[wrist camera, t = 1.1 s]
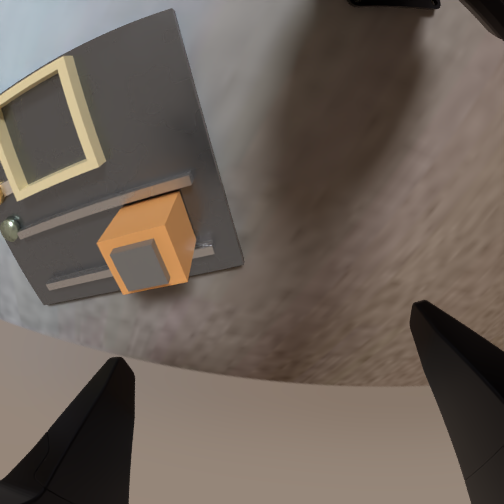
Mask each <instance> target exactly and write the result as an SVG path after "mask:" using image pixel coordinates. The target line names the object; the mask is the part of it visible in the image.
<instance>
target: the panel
mask: <svg viewBox="0 0 504 504" xmlns="http://www.w3.org/2000/svg"><path fill="white" fill-rule="evenodd" d="M62 56H73V58H74V62H75V66H76V69H77V73H78V76H79V80H80V83H81V87H82V90H83V93H84V97H85V100H86V103H87V106H88V109H89V112H90V116H91V119H92V122H93V125H94V128H95V131H96V134H97V136H98V139H99V142H100V145H101V148H102V151H103V153H104V156H105V159H106V162H105V163H103V164H102V165H101V166H100V167H98V168H95V169H93V170H90V171H87V172H85V173H82V174H80V175H77V176H75V177H72V178H70V179H67V180H65V181H63V182H60V183H58V184H55V185H53V186H51V187H48V188H46V189H44V190H42V191H39V192H37V193H35V194H33V195H31V196H28V197H26V198H24V199H22V200H20V201H18V202H17V200H16V198H15V195H14V193H13V191H12V188H11V186H10V184H9V181H8V179H7V176H6V174H5V171H4V169H3V166H2V164H1V161H0V230H1V233H2V235H3V237H4V238H5V240H6V242H7V244H8V246H9V248H10V250H11V251H12V253H13V255H14V257H15V259H16V260H17V262H18V264H19V266H20V267H21V269H22V271H23V273H24V274H25V276H26V278H27V279H28V281H29V283H30V284H31V286H32V287H33V289H34V291H35V292H36V294H37V295H38V297H39V298H40V300H41V301H42V303H43V305H48V304H53V303H58V302H63V301H68V300H73V299H79V298H84V297H89V296H94V295H99V294H104V293H109V292H114V291H119V290H120V288H119V286H118V284H117V282H116V280H115V278H114V277H113V275H112V273H111V271H110V269H109V267H108V265H107V263H106V261H105V259H104V257H103V255H102V253H101V251H100V249H99V247H98V245H97V242H98V240H99V239H100V237H101V236H102V234H103V233H104V231H105V230H106V228H107V227H108V226H109V224H110V223H111V221H112V220H113V218H114V217H115V216H116V214H117V213H118V211H119V210H120V209H121V207H124V206H127V205H131V204H134V203H137V202H141V201H144V200H148V199H151V198H155V197H158V196H162V195H165V194H169V193H173V192H176V191H180V194H181V197H182V200H183V203H184V206H185V209H186V212H187V215H188V218H189V220H190V223H191V226H192V229H193V232H194V235H195V237H196V244H195V248H194V253H193V258H192V263H191V268H190V273H189V276H193V275H197V274H202V273H207V272H212V271H217V270H222V269H226V268H231V267H236V266H241V265H244V257H243V254H242V251H241V247H240V244H239V240H238V237H237V233H236V230H235V226H234V223H233V219H232V216H231V212H230V209H229V205H228V202H227V198H226V195H225V191H224V188H223V184H222V181H221V177H220V174H219V170H218V166H217V163H216V159H215V156H214V152H213V149H212V145H211V142H210V138H209V134H208V131H207V127H206V124H205V120H204V116H203V113H202V109H201V106H200V102H199V98H198V95H197V91H196V88H195V84H194V80H193V77H192V73H191V69H190V66H189V62H188V58H187V55H186V51H185V47H184V44H183V40H182V36H181V33H180V29H179V25H178V21H177V18H176V14H175V11H174V10H173V9H172V8H171V9H168V10H165V11H162V12H159V13H156V14H153V15H150V16H148V17H145V18H142V19H140V20H137V21H134V22H132V23H129V24H127V25H124V26H122V27H119V28H117V29H115V30H112V31H110V32H108V33H106V34H103V35H101V36H99V37H97V38H95V39H93V40H90V41H88V42H86V43H84V44H82V45H80V46H78V47H76V48H74V49H73V50H71V51H69V52H67V53H65V54H63V55H61V56H59V57H58V58H56V59H54V60H52V61H51V62H49V63H47V64H45V65H44V66H42V67H40V68H39V69H37V70H35V71H34V72H32V73H31V74H33V73H35V72H36V71H38V70H40V69H41V68H43V67H45V66H46V65H48V64H50V63H52V62H53V61H55V60H57V59H59V58H60V57H62ZM31 74H29V75H27V76H26V77H24V78H23V79H21V80H20V81H18V82H17V83H19V82H21V81H22V80H24V79H25V78H27V77H28V76H30V75H31ZM17 83H15V84H14V85H12V86H11V87H9V88H8V89H7V90H9V89H10V88H12V87H13V86H15V85H16V84H17ZM7 90H5V91H4V92H6V91H7ZM4 92H2V93H1V94H0V95H2V94H3V93H4ZM1 110H2V113H3V117H4V120H5V123H6V126H7V129H8V132H9V135H10V138H11V141H12V144H13V147H14V149H15V152H16V155H17V158H18V160H19V163H20V165H21V168H22V170H23V173H24V175H25V178H26V180H27V183H28V185H29V184H31V183H33V182H35V181H37V180H39V179H41V178H43V177H45V176H48V175H50V174H52V173H54V172H57V171H59V170H61V169H63V168H66V167H68V166H70V165H73V164H75V163H77V162H80V161H82V160H85V159H86V156H85V153H84V151H83V148H82V145H81V142H80V140H79V137H78V134H77V131H76V128H75V125H74V122H73V119H72V116H71V113H70V110H69V107H68V104H67V100H66V97H65V94H64V90H63V87H62V84H61V80H60V77H59V73H57V74H56V75H54V76H52V77H50V78H48V79H47V80H45V81H43V82H42V83H40V84H38V85H36V86H35V87H33V88H32V89H30V90H28V91H27V92H25V93H23V94H22V95H20V96H19V97H17V98H16V99H14V100H13V101H11V102H10V103H8V104H7V105H5V106H4V107H2V108H1Z"/></svg>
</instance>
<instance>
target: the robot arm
mask: <svg viewBox="0 0 504 504" xmlns="http://www.w3.org/2000/svg"><path fill="white" fill-rule="evenodd" d="M347 1H348V3H349V4H350V5H352V6H354V7H405V8H420V9H432V10H433V9H439V8H440V6H441V4H440V0H433V1H434V5H433V4H432V3H431V0H359V2H355V1H354V0H347ZM459 1H460V2H461V3H462V4H463V5H464V6H465V7H466V8H467V9H468V10H469V11H470V12H471V13H472V14H473V15H474V16H475V17H476V18H477V19H478V20H479V22H480V23H481V24H482V25H483V26H484V27H485V28H486V29H487V30H488V32H490V33H492V34H493V35H495V36H496V37H498V38H500V39H502V40H503V41H504V0H459ZM410 329H411V332H412V335H413V338H414V341H415V344H416V347H417V351H418V354H419V357H420V360H421V364H422V367H423V370H424V372H425V375H426V378H427V380H428V382H429V385H430V387H431V389H432V392H433V394H434V397H435V399H436V401H437V404H438V406H439V409H440V411H441V414H442V417H443V419H444V422H445V425H446V427H447V430H448V433H449V436H450V438H451V441H452V444H453V447H454V449H455V452H456V455H457V458H458V461H459V464H460V467H461V470H462V474H463V477H464V480H465V484H466V487H467V490H468V494H469V497H470V501H471V504H504V351H502V350H501V349H499V348H498V347H496V346H495V345H493V344H492V343H491V342H489V341H488V340H486V339H485V338H483V337H482V336H480V335H479V334H477V333H476V332H474V331H473V330H471V329H470V328H468V327H467V326H465V325H464V324H462V323H461V322H459V321H458V320H456V319H455V318H453V317H452V316H450V315H449V314H447V313H446V312H444V311H442V310H441V309H439V308H438V307H436V306H435V305H433V304H432V303H430V302H428V301H427V300H422V301H418V302H415V303H413V305H412V310H411V317H410ZM134 418H135V376H134V373H133V371H132V370H131V368H130V367H129V365H128V364H127V363H126V361H125V360H124V359H123V358H122V357H112V358H110V359H108V360H107V362H106V363H105V364H104V365H103V366H102V367H101V369H100V370H99V371H98V372H97V373H96V374H95V375H94V377H93V378H92V379H91V380H90V381H89V382H88V384H87V385H86V386H85V387H84V388H83V389H82V391H81V392H80V393H79V394H78V395H77V396H76V398H75V399H74V400H73V401H72V402H71V403H70V405H69V406H68V407H67V408H66V409H65V411H64V412H63V413H62V414H61V415H60V417H59V418H58V419H57V420H56V421H55V423H54V424H53V425H52V426H51V427H50V429H49V430H48V432H46V433H45V435H44V436H43V437H42V438H41V439H40V441H39V442H38V443H37V444H36V445H35V446H34V448H33V449H32V450H31V451H30V452H29V453H28V454H27V455H26V456H25V457H24V458H23V459H22V460H21V461H20V463H18V465H17V466H16V467H15V468H14V469H13V470H12V471H11V472H10V473H9V474H8V475H7V476H6V477H5V478H3V479H2V480H0V504H129V503H128V502H129V482H130V466H131V453H132V440H133V430H134Z"/></svg>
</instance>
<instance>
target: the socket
mask: <svg viewBox="0 0 504 504" xmlns="http://www.w3.org/2000/svg"><path fill="white" fill-rule="evenodd" d="M57 73H59V77H60V80H61V84H62V87H63V90H64V94H65V97H66V100H67V104H68V107H69V110H70V113H71V116H72V119H73V122H74V125H75V128H76V131H77V134H78V137H79V140H80V142H81V145H82V148H83V151H84V153H85V156H86V159H85V160H82V161H80V162H77V163H75V164H73V165H70V166H68V167H66V168H63V169H61V170H59V171H57V172H54V173H52V174H50V175H48V176H45V177H43V178H41V179H39V180H37V181H35V182H33V183H31V184H29V185H28V183H27V180H26V178H25V175H24V173H23V170H22V168H21V165H20V163H19V160H18V158H17V155H16V152H15V149H14V147H13V144H12V141H11V138H10V135H9V132H8V129H7V126H6V123H5V120H4V117H3V113H2V110H1V108H2V107H4V106H5V105H7V104H8V103H10V102H11V101H13V100H14V99H16V98H17V97H19V96H20V95H22V94H23V93H25V92H27V91H28V90H30V89H32V88H33V87H35V86H36V85H38V84H40V83H42V82H43V81H45V80H47V79H48V78H50V77H52V76H54V75H56V74H57ZM0 161H1V164H2V166H3V169H4V171H5V174H6V176H7V179H8V181H9V184H10V186H11V188H12V191H13V193H14V195H15V198H16V200H17V202H18V201H20V200H22V199H24V198H26V197H28V196H31V195H33V194H35V193H37V192H39V191H42V190H44V189H46V188H48V187H51V186H53V185H55V184H58V183H60V182H63V181H65V180H67V179H70V178H72V177H75V176H77V175H80V174H82V173H85V172H87V171H90V170H93V169H95V168H98V167H100V166H101V165H102V164H103V163H105V162H106V159H105V156H104V153H103V151H102V148H101V145H100V142H99V139H98V136H97V134H96V131H95V128H94V125H93V122H92V119H91V116H90V112H89V109H88V106H87V103H86V100H85V97H84V93H83V90H82V87H81V83H80V80H79V76H78V73H77V69H76V66H75V62H74V58H73V56H62V57H60V58H59V59H57V60H55V61H53V62H52V63H50V64H48V65H46V66H45V67H43V68H41V69H40V70H38V71H36V72H35V73H33V74H31V75H30V76H28V77H27V78H25V79H24V80H22V81H21V82H19V83H17V84H16V85H15V86H13V87H12V88H10V89H9V90H7V91H6V92H4V93H3V94H2V95H0Z"/></svg>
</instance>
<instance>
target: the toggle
mask: <svg viewBox="0 0 504 504" xmlns="http://www.w3.org/2000/svg"><path fill="white" fill-rule="evenodd" d="M195 244H196V237H195V235H194V232H193V229H192V226H191V223H190V220H189V218H188V215H187V212H186V209H185V206H184V203H183V200H182V197H181V194H180V191H176V192H173V193H169V194H165V195H162V196H158V197H155V198H151V199H148V200H144V201H141V202H137V203H134V204H131V205H127V206H124V207H121V209H120V210H119V211H118V213H117V214H116V216H115V217H114V218H113V220H112V221H111V223H110V224H109V226H108V227H107V228H106V230H105V231H104V233H103V234H102V236H101V237H100V239H99V240H98V242H97V245H98V247H99V249H100V251H101V253H102V255H103V257H104V259H105V261H106V263H107V265H108V267H109V269H110V271H111V273H112V275H113V277H114V278H115V280H116V282H117V284H118V286H119V288H120V290H121V291H122V293H123V295H124V294H129V293H135V292H140V291H145V290H150V289H155V288H160V287H165V286H170V285H175V284H180V283H185V282H188V278H189V273H190V268H191V263H192V258H193V253H194V248H195Z"/></svg>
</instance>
